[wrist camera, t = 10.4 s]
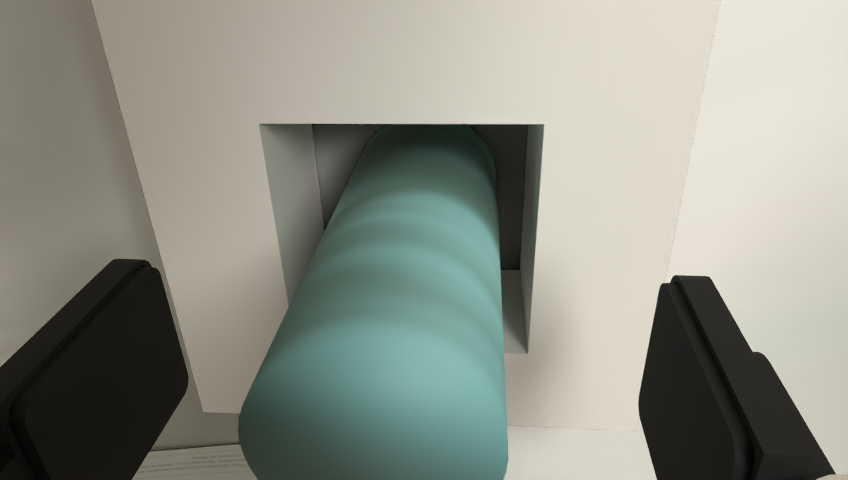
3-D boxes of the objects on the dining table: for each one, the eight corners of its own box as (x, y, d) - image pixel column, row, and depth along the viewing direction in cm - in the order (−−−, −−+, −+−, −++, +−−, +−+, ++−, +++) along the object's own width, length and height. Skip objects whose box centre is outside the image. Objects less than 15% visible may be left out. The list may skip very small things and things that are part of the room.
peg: (439, 82, 16) (387, 294, 8) (524, 192, 18) (562, 479, 9) (330, 165, 18) (183, 423, 9) (416, 261, 19) (359, 566, 10)
